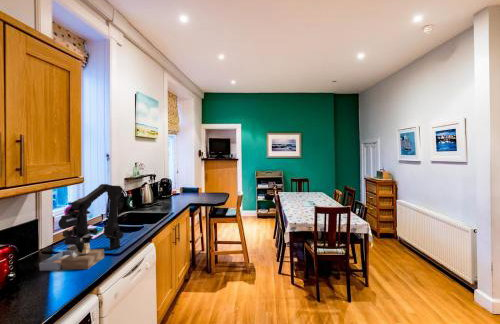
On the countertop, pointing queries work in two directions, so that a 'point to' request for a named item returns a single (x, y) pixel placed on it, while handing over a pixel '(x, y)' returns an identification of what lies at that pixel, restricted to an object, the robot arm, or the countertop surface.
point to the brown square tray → (83, 260)
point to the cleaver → (71, 248)
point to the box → (50, 266)
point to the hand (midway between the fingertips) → (83, 251)
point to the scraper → (85, 250)
